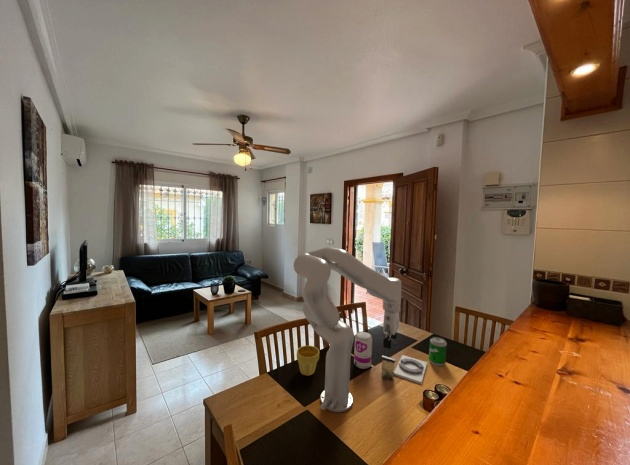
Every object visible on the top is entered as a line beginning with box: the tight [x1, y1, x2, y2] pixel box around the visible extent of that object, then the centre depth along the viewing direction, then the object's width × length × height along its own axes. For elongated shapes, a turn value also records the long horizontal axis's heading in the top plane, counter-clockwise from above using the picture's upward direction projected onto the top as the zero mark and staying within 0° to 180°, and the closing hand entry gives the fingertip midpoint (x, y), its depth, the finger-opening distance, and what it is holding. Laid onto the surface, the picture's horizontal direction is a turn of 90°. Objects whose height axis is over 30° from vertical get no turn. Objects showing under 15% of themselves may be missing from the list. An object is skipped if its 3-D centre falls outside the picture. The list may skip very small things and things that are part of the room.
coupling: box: [380, 355, 396, 382], centre depth 118 cm, size 5×6×9 cm
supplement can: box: [353, 331, 373, 370], centre depth 127 cm, size 8×8×15 cm
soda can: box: [428, 336, 448, 367], centre depth 131 cm, size 8×8×12 cm
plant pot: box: [296, 345, 320, 376], centre depth 121 cm, size 10×10×10 cm
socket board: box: [394, 354, 428, 385], centre depth 125 cm, size 18×12×2 cm, turn 150°
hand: (390, 342), depth 118 cm, fingers open, 9 cm apart
